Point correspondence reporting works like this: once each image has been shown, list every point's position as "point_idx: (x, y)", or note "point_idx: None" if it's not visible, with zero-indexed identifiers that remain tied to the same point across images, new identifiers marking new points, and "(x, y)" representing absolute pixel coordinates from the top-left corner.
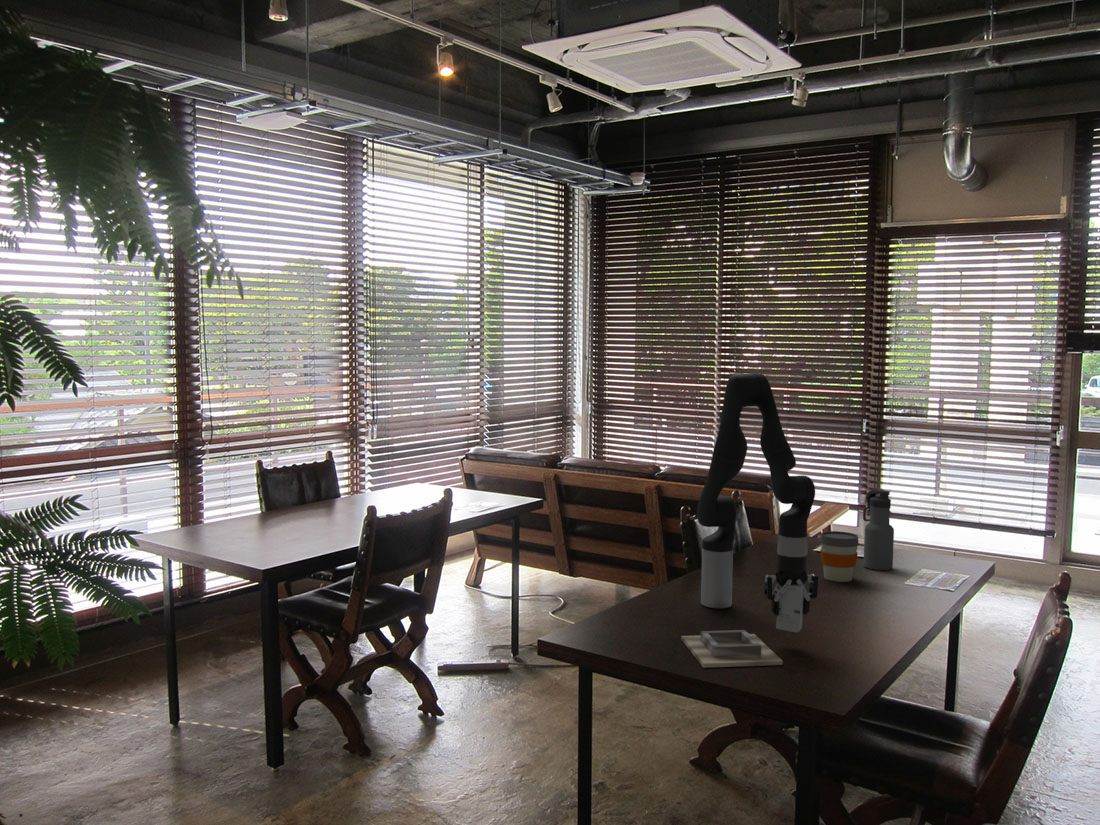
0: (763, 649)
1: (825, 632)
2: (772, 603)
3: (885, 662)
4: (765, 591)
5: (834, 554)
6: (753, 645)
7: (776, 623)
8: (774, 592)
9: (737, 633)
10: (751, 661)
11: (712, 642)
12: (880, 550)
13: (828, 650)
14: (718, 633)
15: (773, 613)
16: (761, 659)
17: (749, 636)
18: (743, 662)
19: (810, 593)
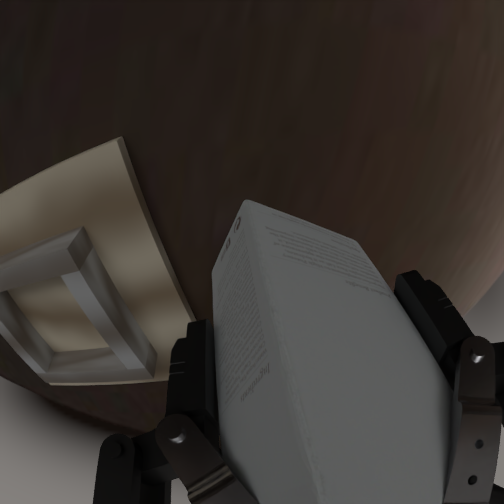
0: (161, 314)
1: (459, 52)
2: (176, 401)
3: (471, 297)
4: (110, 484)
5: None
6: (130, 377)
7: (213, 291)
8: (189, 478)
9: (50, 274)
10: (138, 380)
11: (27, 360)
12: None
13: (400, 243)
14: (3, 289)
15: (190, 323)
16: (161, 371)
17: (100, 318)
18: (121, 382)
19: (500, 385)
